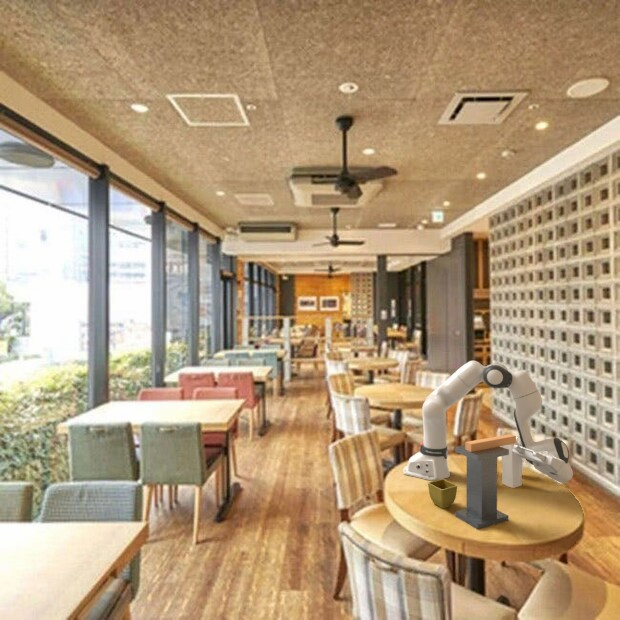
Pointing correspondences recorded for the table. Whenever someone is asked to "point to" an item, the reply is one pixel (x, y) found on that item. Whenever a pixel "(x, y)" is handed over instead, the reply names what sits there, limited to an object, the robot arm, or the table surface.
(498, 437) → the orange-brown square bar
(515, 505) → the table surface
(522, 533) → the table surface
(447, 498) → the flower pot
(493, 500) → the pedestal
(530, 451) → the robot arm
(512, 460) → the milk
